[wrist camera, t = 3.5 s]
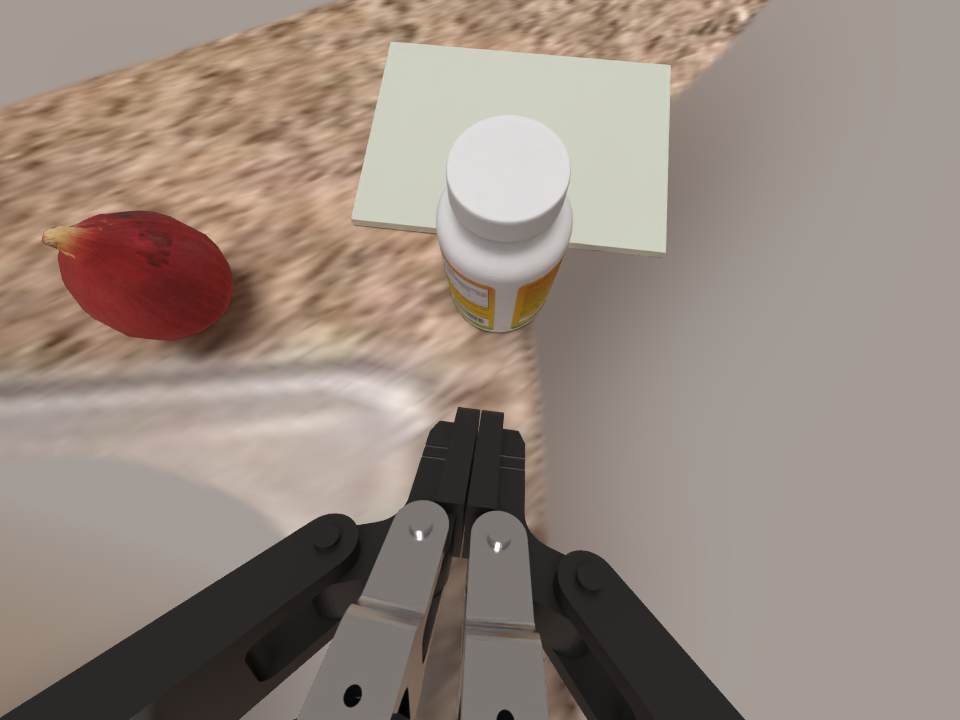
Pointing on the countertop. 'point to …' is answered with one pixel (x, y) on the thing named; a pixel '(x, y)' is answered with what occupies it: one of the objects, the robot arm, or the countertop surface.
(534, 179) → the supplement bottle
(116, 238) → the onion
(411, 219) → the mat
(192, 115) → the countertop surface
